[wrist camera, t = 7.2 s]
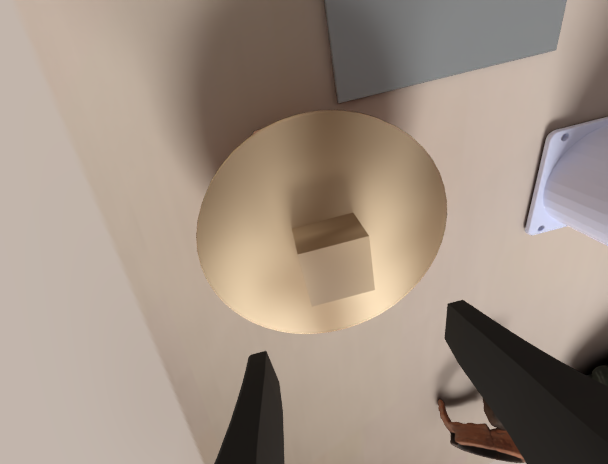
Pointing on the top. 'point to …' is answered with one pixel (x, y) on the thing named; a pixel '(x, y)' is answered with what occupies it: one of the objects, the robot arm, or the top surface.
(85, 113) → the top surface
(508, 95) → the top surface
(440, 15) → the mat
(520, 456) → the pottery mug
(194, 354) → the top surface
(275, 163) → the lid
